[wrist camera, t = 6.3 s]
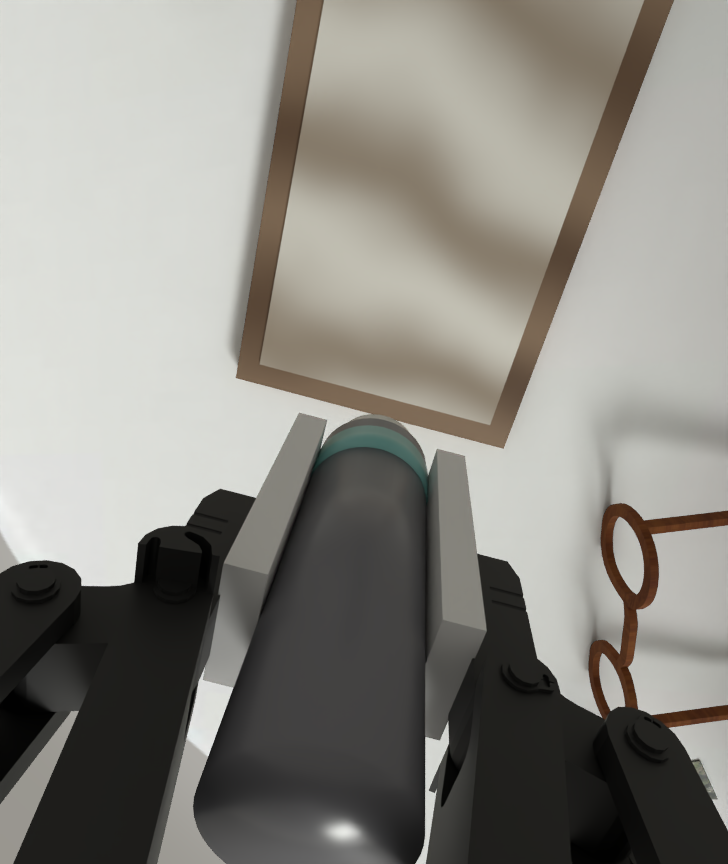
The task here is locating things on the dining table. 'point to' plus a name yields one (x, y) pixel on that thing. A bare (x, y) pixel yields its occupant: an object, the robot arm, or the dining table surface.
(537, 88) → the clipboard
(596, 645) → the glasses
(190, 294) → the dining table surface
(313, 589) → the marker
